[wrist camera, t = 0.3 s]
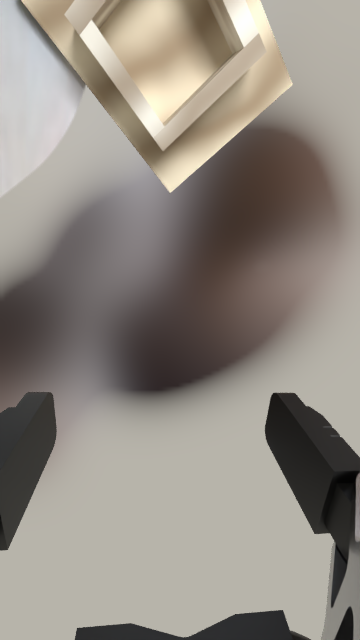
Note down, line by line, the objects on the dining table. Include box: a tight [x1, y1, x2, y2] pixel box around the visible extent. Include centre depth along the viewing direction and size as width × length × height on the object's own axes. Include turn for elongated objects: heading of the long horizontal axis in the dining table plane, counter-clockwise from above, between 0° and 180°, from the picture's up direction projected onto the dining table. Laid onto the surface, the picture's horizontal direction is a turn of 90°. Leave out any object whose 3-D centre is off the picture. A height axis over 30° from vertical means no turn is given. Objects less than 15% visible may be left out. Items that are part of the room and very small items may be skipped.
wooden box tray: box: [21, 0, 293, 193], centre depth 24 cm, size 20×16×5 cm
